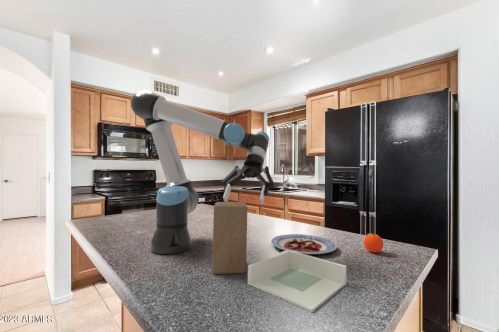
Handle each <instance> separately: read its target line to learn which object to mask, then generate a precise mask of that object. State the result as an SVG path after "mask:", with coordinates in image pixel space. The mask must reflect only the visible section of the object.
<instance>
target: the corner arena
mask: <svg viewBox="0 0 499 332" xmlns="http://www.w3.org/2000/svg"><path fill="white" fill-rule="evenodd" d="M247 285H249V286H252V287H254V288H255V289H258V290H261V291H263V292H265V293H267V294H269V295H271V294H272V295H271V296H274V297H276V296H277V297H276V298H278V297H279V298H278V299H280V298H282V299H281V300H283V301H285V302H287V301H288V302H287V303H289V302H290V304H292V305H294V306H295V307H298V306H299V308H301V309H304V310H305V311H308V312H310V313H313V312H315V311H316V310H317V309H318V308H319V307H321V306H322V305H323V304H324V303H325V302H327V301H328V300H329V299H330V298H331V297H333V296H334V295H335V294H337V292H338V291H340V290H341V289H342V288H343V287H345V286H346V285H347V265H345V264H342V263H337V262H334V261H330V260H327V259H322V258H319V257H316V256H312V255H310V254H302V253H298V252H294V251H291V250H286V251H285V250H282V251H280V252H277V253H276V254H274V255H271V256H268V257H267V258H263V259H261V260H258V261H256V262H254V263H251V264H248V265H247Z"/></svg>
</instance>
